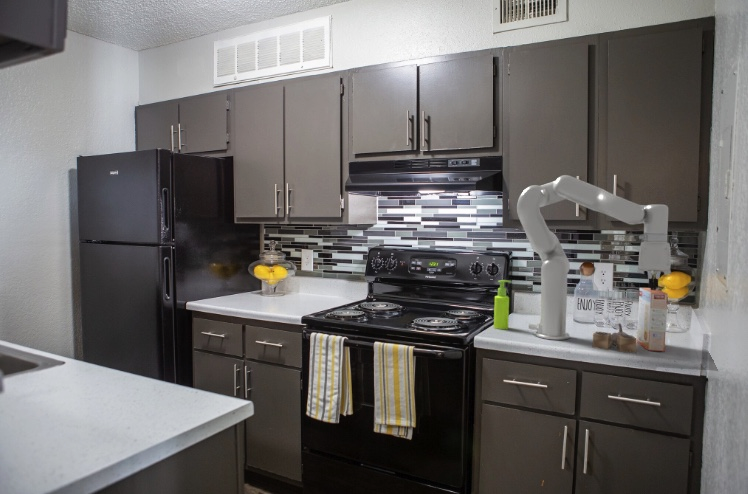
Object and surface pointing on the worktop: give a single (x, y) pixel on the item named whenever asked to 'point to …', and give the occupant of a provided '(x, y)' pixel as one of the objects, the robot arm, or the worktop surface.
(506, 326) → the soap dispenser
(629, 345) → the marked cube
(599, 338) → the marked cube
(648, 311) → the cracker box
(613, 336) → the garlic bulb
